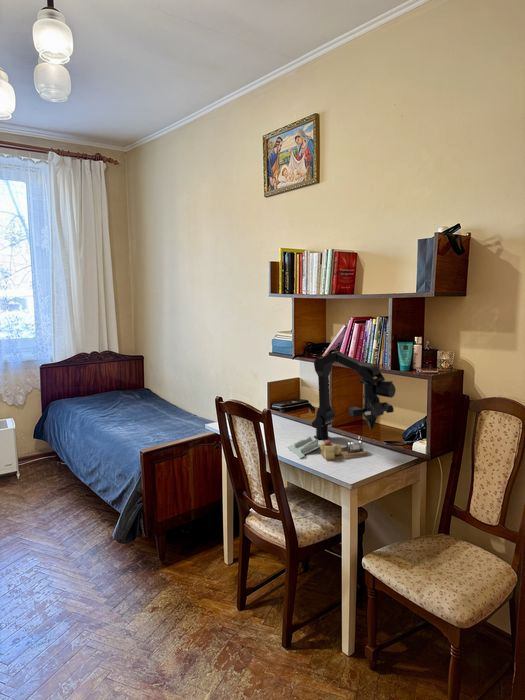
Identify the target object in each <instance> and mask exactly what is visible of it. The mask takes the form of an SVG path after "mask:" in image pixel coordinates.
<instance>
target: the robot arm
mask: <svg viewBox="0 0 525 700" xmlns="http://www.w3.org/2000/svg"><path fill="white" fill-rule="evenodd" d="M334 363H338V364H341V365H342V366H344V367H346V368H348V369H351V370H352V371H355V372H356V373H357V374H358V376H360V377H361V379H360V381H359V384H362V385H363V395H362V398H363V404H362V407H363V408H362V407H361V408H360V407H358V406H352V407H351V406H350V407H349V408H348V414H349V415H350V416H352V417H353V418H356V417H357V418H358V417H364V419H365V420H366V422H367V425H368V427H369V429H370V430H373V429H374V427H375V423H376V421H377V420H378V417H380V416H383V415H384V413H385V412H386V413H387V414H389V413H394V411H395V410H394V408H395V407H394V406H393V405H392V404H390V403H388V402H387V401H386V402H384V401H383V402H380V397H385V398H391V399H392V398H394V396H395V394H396V390H397V389H396V386H395V384H394V383H393V381H392V380H386V379H385V377H384V375H383V374H382V372H381V370H380V368H379V366H378V365H377V364H374V363H372V362H364V361H363V362H362V361H360V360H358V359H356V358H354V357H351V356H350V355H347V354H345V353H342V352H341V351H339V350H336V351H332V352H331V353H330V354H327V355H325V356H320V357H317V358H315V360H314V361H313V365H314V371H315V373H316V375H317V378H318V402H319V403H318V408H317V410H316V414H315V419H314V420H313V421H312V422H311V426H312V428H314V429H315V435H314V436H313V438H314V439H315V440H316V439H318V441H326V440H331V439H332V438H331V437H330V436H329V425H332V423H333V421H334V420H335V417H336V416H335V415H336V414H335V408H332V406H331V403H330V402H331V398H330V397H331V396H330V374H331V372H332V369H333V364H334Z"/></svg>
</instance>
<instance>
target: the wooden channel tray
mask: <svg viewBox="0 0 525 700" xmlns="http://www.w3.org/2000/svg"><path fill="white" fill-rule="evenodd" d="M320 444H321V447H320V452H319V455H321V457H323V459H324V460H325V461H326V462H327V463H328V462H333V461H340V460H341V461H342V460H348V459H355V458H363V457H368V452H367V451H364V450H363V452H354V453H350V454H348V452H347V450H346V445H345V446H341V445H340V443H338V444H337V443H335V444H333V443H332V441H331V440H330V439H326V440H323V442H320Z"/></svg>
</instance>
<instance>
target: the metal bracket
mask: <svg viewBox="0 0 525 700" xmlns="http://www.w3.org/2000/svg"><path fill="white" fill-rule="evenodd" d="M287 448H288V449H289V450H288V449H287ZM286 449H287V450H288V451H290V452H291V451H292V452H293V453H294V454H296V455H297V456H298V457H299V458H301V459H303V458H305V457H306V456H305V455H306V454H308V453H310V452H313V451H314V450H316V449H319V450H321V443H320V442H319V440H318V439H316V438H314V437H312V436H308V437H306V439H302V440H298V441H297V442H295V443H294V445H293V444H290V445H287V447H286ZM292 452H291V453H292ZM293 453H292V454H293ZM294 454H293V455H294Z"/></svg>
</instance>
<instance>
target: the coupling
mask: <svg viewBox="0 0 525 700" xmlns="http://www.w3.org/2000/svg"><path fill="white" fill-rule="evenodd" d="M345 446H346V450H347V452H348V454H350V453H354V452H364V449H365V448H364V443H363V441H362V440H361V439H360V440H357V441H352V442H350V441H347V442H346V443H345Z"/></svg>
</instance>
